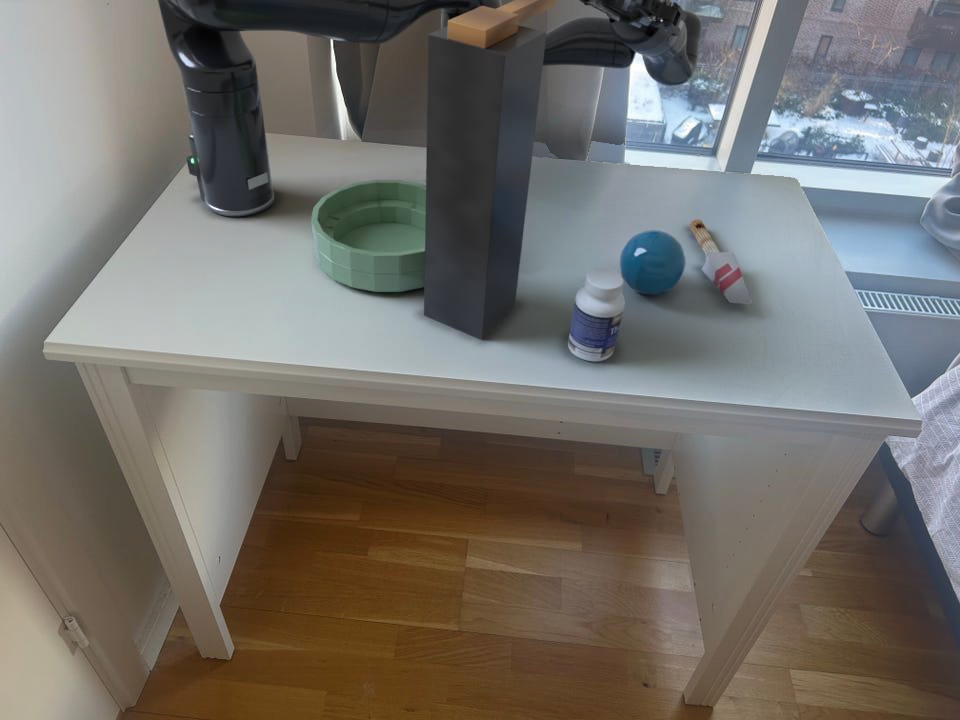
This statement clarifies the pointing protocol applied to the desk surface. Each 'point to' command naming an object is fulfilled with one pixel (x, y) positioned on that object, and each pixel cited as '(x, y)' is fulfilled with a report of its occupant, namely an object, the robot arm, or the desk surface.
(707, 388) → the desk surface
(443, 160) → the pedestal
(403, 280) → the bowl
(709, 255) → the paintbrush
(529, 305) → the desk surface
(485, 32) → the wooden spatula
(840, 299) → the desk surface
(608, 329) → the pill bottle
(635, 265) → the ball
